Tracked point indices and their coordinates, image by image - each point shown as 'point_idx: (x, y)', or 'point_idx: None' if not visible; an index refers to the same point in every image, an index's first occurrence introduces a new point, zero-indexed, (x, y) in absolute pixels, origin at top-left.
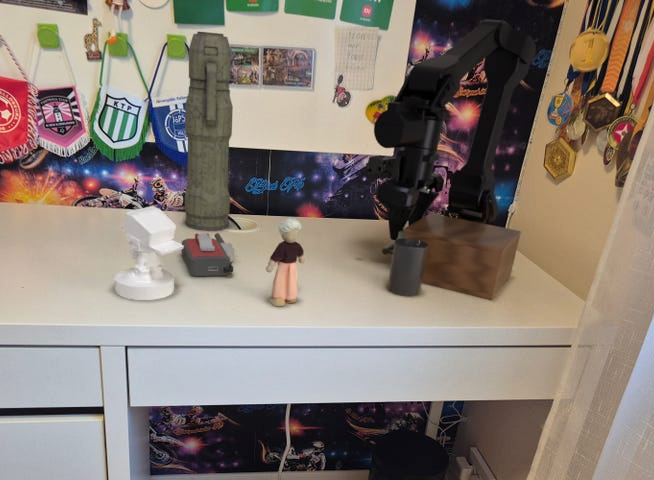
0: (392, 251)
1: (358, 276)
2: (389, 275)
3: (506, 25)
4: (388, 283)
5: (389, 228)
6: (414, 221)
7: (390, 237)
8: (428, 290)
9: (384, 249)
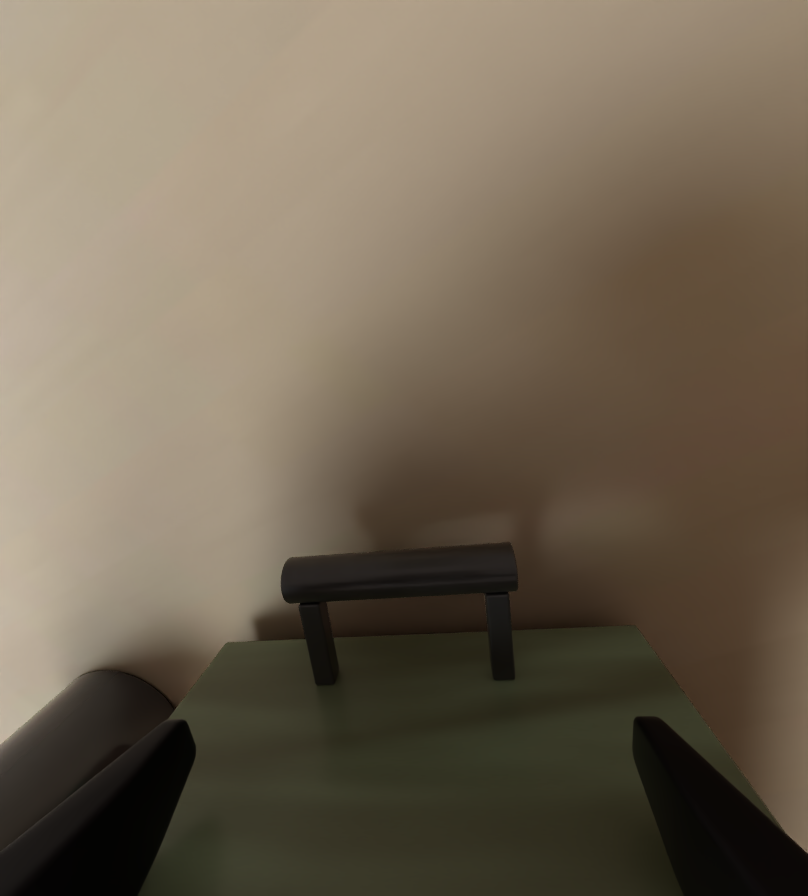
0: (303, 629)
1: (86, 528)
2: (19, 728)
3: None
4: (53, 698)
5: (47, 816)
6: (686, 864)
7: (153, 733)
8: None
9: (282, 584)
